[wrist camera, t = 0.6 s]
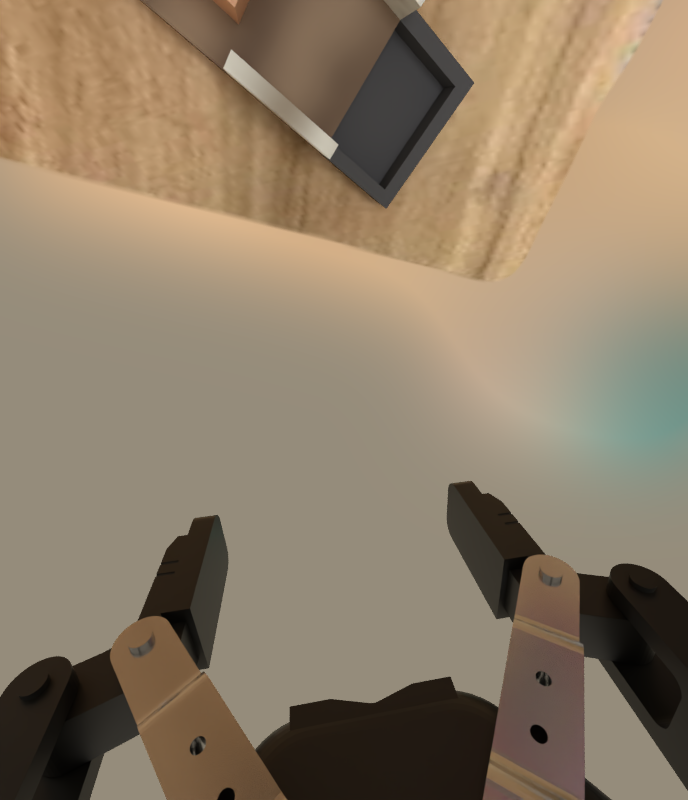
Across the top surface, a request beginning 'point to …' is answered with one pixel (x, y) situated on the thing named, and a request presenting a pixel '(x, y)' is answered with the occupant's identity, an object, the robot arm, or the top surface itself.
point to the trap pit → (399, 110)
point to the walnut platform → (293, 52)
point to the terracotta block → (233, 8)
